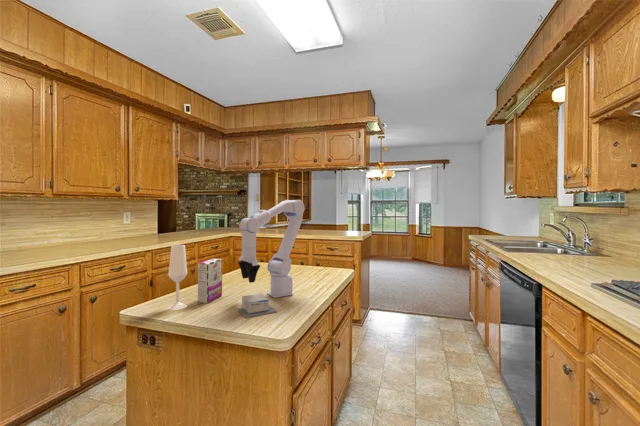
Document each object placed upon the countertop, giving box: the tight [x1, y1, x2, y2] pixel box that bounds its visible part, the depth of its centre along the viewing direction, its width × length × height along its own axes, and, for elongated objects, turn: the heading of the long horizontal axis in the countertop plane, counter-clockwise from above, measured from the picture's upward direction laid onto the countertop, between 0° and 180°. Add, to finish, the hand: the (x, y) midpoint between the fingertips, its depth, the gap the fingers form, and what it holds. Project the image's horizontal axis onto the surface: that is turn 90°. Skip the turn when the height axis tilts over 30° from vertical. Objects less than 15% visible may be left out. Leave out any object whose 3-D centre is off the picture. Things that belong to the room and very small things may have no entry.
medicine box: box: [241, 293, 270, 314], centre depth 114 cm, size 8×4×9 cm
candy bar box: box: [197, 258, 223, 304], centre depth 126 cm, size 11×5×16 cm, turn 168°
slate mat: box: [237, 305, 278, 319], centre depth 112 cm, size 12×10×1 cm
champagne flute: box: [167, 244, 188, 311], centre depth 115 cm, size 7×7×24 cm
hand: (248, 280), depth 122 cm, fingers open, 7 cm apart
